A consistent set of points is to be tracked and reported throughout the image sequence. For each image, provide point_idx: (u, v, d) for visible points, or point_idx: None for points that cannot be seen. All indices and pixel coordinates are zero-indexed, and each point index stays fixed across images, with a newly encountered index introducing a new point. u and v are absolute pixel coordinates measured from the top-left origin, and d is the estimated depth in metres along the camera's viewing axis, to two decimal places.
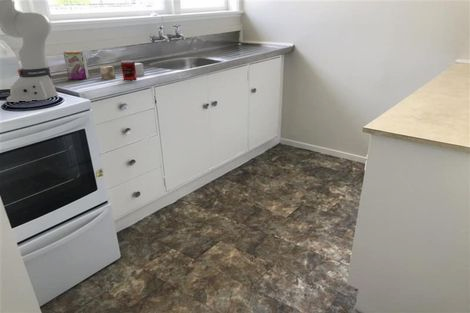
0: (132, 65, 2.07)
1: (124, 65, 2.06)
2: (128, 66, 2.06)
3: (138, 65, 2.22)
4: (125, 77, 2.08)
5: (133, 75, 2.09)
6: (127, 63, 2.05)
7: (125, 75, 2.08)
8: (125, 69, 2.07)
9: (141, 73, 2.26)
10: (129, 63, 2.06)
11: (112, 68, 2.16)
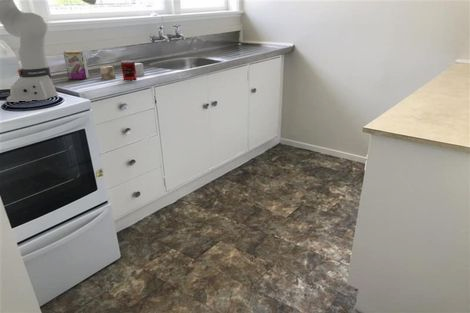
0: (132, 65, 2.07)
1: (124, 65, 2.06)
2: (128, 66, 2.06)
3: (138, 65, 2.22)
4: (125, 77, 2.08)
5: (133, 75, 2.09)
6: (127, 63, 2.05)
7: (125, 75, 2.08)
8: (125, 69, 2.07)
9: (141, 73, 2.26)
10: (129, 63, 2.06)
11: (112, 68, 2.16)
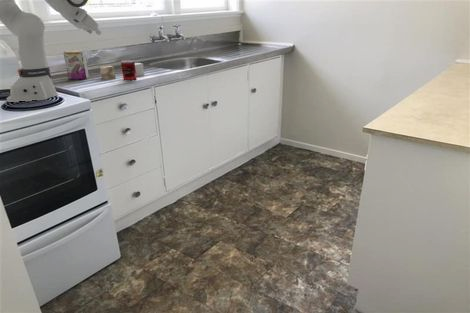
0: (132, 65, 2.07)
1: (124, 65, 2.06)
2: (128, 66, 2.06)
3: (138, 65, 2.22)
4: (125, 77, 2.08)
5: (133, 75, 2.09)
6: (127, 63, 2.05)
7: (125, 75, 2.08)
8: (125, 69, 2.07)
9: (141, 73, 2.26)
10: (129, 63, 2.06)
11: (112, 68, 2.16)
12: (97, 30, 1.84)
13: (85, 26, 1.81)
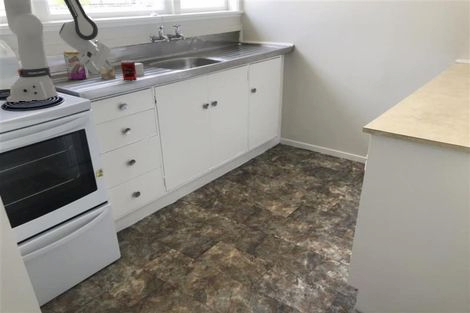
0: (132, 65, 2.07)
1: (124, 65, 2.06)
2: (128, 66, 2.06)
3: (138, 65, 2.22)
4: (125, 77, 2.08)
5: (133, 75, 2.09)
6: (127, 63, 2.05)
7: (125, 75, 2.08)
8: (125, 69, 2.07)
9: (141, 73, 2.26)
10: (129, 63, 2.06)
11: (112, 68, 2.16)
12: (106, 66, 1.90)
13: None
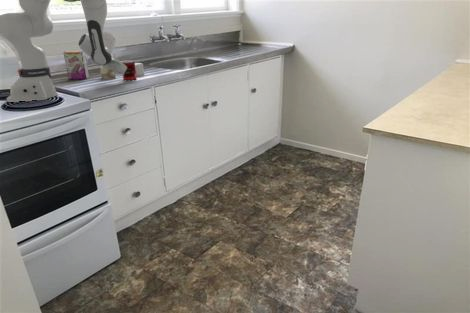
0: (132, 65, 2.07)
1: None
2: (128, 66, 2.06)
3: (138, 65, 2.22)
4: (125, 77, 2.08)
5: (133, 75, 2.09)
6: (127, 63, 2.05)
7: (125, 75, 2.08)
8: None
9: (141, 73, 2.26)
10: (129, 63, 2.06)
11: None
12: None
13: None
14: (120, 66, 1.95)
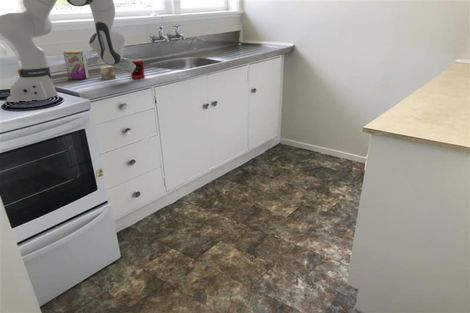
0: (140, 64, 2.11)
1: None
2: (136, 65, 2.10)
3: None
4: (134, 75, 2.13)
5: (141, 73, 2.13)
6: (135, 62, 2.09)
7: (133, 73, 2.12)
8: None
9: None
10: (137, 62, 2.10)
11: (112, 68, 2.16)
12: None
13: None
14: (129, 65, 1.99)
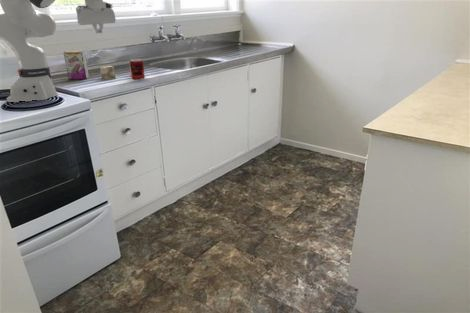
0: (140, 64, 2.11)
1: (133, 63, 2.10)
2: (136, 65, 2.10)
3: None
4: (134, 75, 2.13)
5: (141, 73, 2.13)
6: (135, 62, 2.09)
7: (133, 73, 2.12)
8: (133, 68, 2.11)
9: None
10: (137, 62, 2.10)
11: (112, 68, 2.16)
12: None
13: (104, 17, 1.89)
14: (77, 16, 1.81)
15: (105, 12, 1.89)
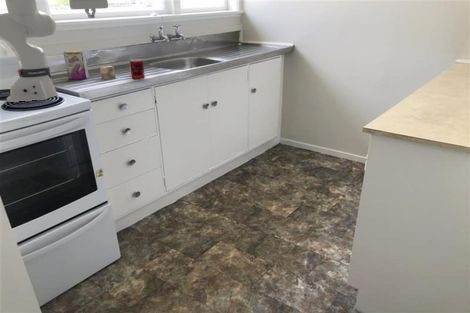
0: (140, 64, 2.11)
1: (133, 63, 2.10)
2: (136, 65, 2.10)
3: None
4: (134, 75, 2.13)
5: (141, 73, 2.13)
6: (135, 62, 2.09)
7: (133, 73, 2.12)
8: (133, 68, 2.11)
9: None
10: (137, 62, 2.10)
11: (112, 68, 2.16)
12: None
13: (97, 2, 1.89)
14: (70, 0, 1.81)
15: None
